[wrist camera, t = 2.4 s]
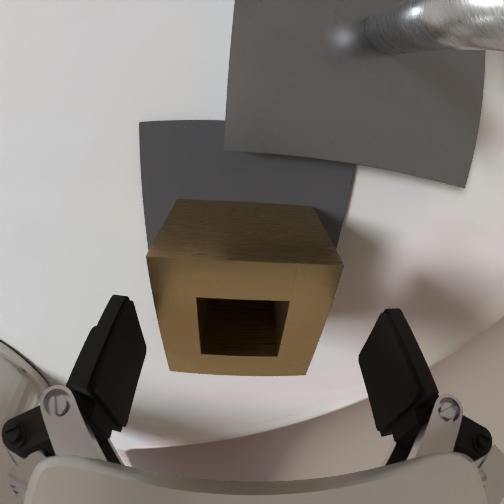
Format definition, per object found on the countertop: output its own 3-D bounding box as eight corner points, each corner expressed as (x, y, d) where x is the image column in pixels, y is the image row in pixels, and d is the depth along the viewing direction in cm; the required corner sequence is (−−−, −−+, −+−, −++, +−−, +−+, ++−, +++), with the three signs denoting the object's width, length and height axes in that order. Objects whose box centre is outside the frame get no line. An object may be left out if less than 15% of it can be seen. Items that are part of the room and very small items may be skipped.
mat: (306, 341, 19) (307, 345, 19) (165, 336, 18) (164, 339, 18) (357, 135, 12) (359, 136, 11) (141, 121, 11) (139, 122, 11)
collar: (292, 306, 17) (305, 375, 12) (184, 302, 16) (169, 370, 12) (312, 206, 13) (343, 265, 9) (177, 198, 13) (146, 256, 9)
